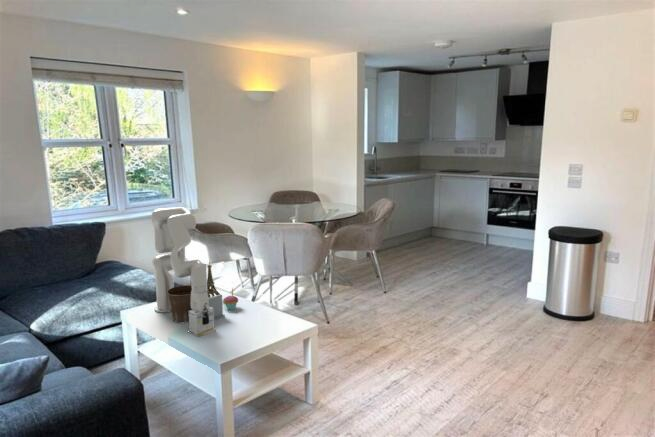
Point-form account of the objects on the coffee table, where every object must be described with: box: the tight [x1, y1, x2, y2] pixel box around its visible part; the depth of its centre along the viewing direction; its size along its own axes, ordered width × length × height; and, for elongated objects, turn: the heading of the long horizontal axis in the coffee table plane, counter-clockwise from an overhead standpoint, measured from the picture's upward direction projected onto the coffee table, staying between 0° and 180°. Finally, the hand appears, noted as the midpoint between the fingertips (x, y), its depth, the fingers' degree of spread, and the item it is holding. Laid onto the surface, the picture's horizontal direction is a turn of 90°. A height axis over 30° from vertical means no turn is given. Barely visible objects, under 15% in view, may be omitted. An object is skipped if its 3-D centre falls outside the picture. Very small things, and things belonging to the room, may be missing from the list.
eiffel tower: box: [207, 262, 221, 298], centre depth 275 cm, size 11×11×25 cm
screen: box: [208, 293, 226, 321], centre depth 243 cm, size 5×14×12 cm, turn 138°
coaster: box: [187, 327, 216, 338], centre depth 229 cm, size 10×10×1 cm
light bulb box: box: [188, 307, 215, 334], centre depth 228 cm, size 11×7×11 cm, turn 142°
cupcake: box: [222, 288, 239, 311], centre depth 259 cm, size 9×8×12 cm
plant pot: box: [167, 284, 192, 324], centre depth 244 cm, size 16×16×16 cm
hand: (201, 321), depth 228 cm, fingers open, 7 cm apart
